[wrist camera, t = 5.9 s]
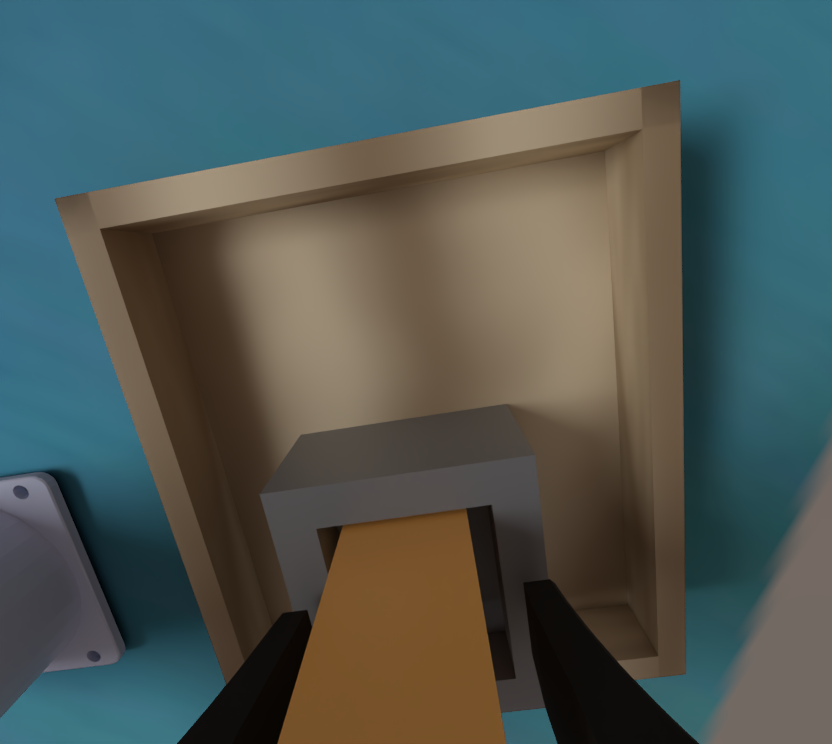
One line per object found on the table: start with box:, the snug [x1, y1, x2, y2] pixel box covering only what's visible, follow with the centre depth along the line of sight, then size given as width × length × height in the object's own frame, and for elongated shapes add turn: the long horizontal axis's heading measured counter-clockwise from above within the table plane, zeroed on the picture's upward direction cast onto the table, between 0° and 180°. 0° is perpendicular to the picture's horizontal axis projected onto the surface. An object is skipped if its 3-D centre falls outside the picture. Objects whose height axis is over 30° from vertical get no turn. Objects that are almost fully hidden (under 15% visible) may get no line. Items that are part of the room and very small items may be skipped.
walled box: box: [55, 80, 686, 685], centre depth 13 cm, size 14×16×3 cm
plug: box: [278, 508, 506, 744], centre depth 8 cm, size 3×4×8 cm
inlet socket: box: [260, 404, 548, 713], centre depth 12 cm, size 6×7×4 cm
